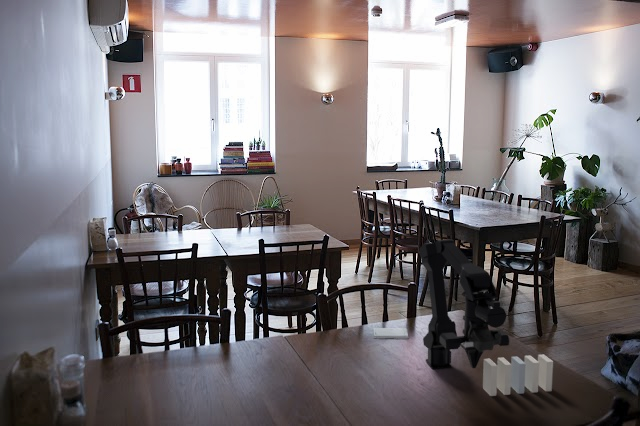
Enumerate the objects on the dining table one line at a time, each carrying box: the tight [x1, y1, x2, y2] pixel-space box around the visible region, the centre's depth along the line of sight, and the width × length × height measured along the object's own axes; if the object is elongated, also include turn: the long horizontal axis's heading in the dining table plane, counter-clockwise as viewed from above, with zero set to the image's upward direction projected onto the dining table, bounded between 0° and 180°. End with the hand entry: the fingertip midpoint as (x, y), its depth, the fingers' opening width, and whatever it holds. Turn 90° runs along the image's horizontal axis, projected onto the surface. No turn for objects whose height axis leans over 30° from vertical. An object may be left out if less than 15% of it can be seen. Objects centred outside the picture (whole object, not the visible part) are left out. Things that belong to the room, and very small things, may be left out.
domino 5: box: [537, 354, 554, 392], centre depth 162 cm, size 2×5×9 cm, turn 8°
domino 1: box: [482, 358, 498, 397], centre depth 159 cm, size 2×5×9 cm, turn 8°
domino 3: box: [510, 356, 526, 395], centre depth 160 cm, size 2×5×9 cm, turn 7°
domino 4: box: [523, 355, 539, 393], centre depth 161 cm, size 2×5×9 cm, turn 8°
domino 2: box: [496, 357, 512, 396], centre depth 160 cm, size 2×5×9 cm, turn 8°
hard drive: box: [372, 327, 409, 340], centre depth 205 cm, size 2×8×12 cm
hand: (473, 367), depth 158 cm, fingers closed
